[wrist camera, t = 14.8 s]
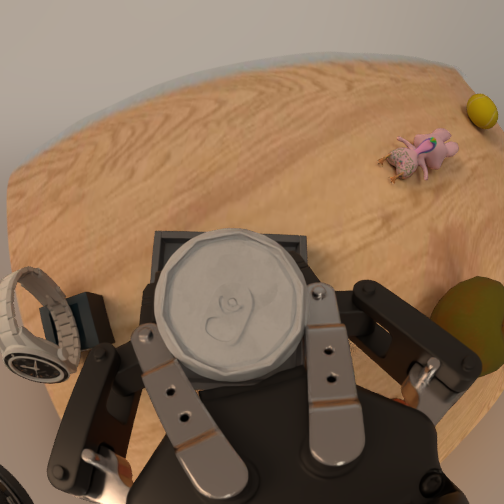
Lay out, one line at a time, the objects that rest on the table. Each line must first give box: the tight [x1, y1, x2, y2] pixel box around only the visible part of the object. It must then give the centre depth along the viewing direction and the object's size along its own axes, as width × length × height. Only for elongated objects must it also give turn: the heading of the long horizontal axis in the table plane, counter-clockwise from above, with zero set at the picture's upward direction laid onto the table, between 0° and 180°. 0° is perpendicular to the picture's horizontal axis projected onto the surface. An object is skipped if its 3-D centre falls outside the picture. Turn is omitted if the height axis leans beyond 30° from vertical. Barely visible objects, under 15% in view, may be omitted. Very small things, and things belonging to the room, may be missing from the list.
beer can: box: [154, 228, 309, 382], centre depth 13 cm, size 5×5×12 cm
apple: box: [430, 276, 504, 377], centre depth 18 cm, size 10×10×11 cm
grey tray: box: [150, 231, 308, 390], centre depth 21 cm, size 12×12×2 cm
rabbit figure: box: [377, 128, 459, 184], centre depth 25 cm, size 6×6×15 cm
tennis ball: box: [467, 94, 498, 129], centre depth 30 cm, size 7×7×7 cm
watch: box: [0, 266, 115, 384], centre depth 15 cm, size 6×8×11 cm
